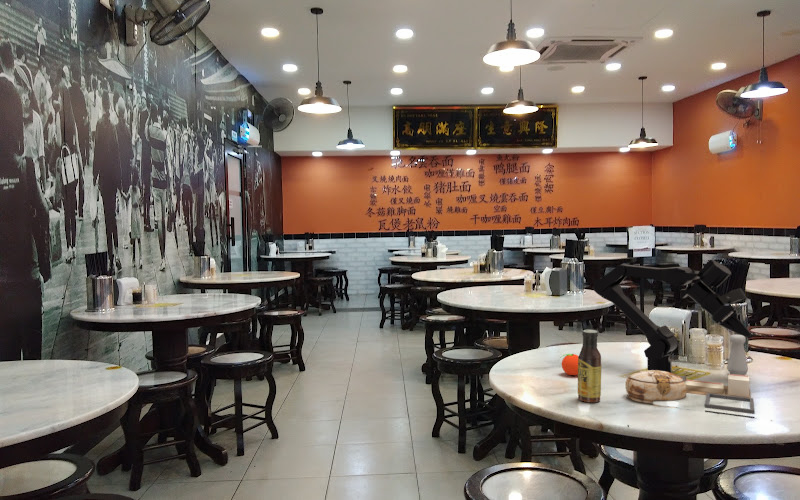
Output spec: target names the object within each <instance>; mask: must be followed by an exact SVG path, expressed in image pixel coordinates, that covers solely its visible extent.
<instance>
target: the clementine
mask: <svg viewBox="0 0 800 500" xmlns="http://www.w3.org/2000/svg"><path fill="white" fill-rule="evenodd" d="M562 357H563V359H562V361H561V368H562V370H563V372H564V373H565V374H567V375H569V376H571V375H575V376H578V357H579V355H578V354H576V353H575V354H574V353H567V354H563V355H561V356H560V358H559V360H558V361H560V359H561V358H562Z"/></svg>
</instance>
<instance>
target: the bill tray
mask: <svg viewBox="0 0 800 500" xmlns="http://www.w3.org/2000/svg"><path fill="white" fill-rule="evenodd" d="M711 398H715V399H723V400H732V401H739V402H748V403H749V407H750V408H746V407H739V406H738V407H736V406H728V405H720V404H713V403H710V399H711ZM704 408H707V409H713V410H720V411H721V410H722V411H730V412H735V413H736V412H737V413H746V414H752V415H753V414H755V402H754V398H753V397H751V398H746V397H737V396H729V395H720V394H712V393H707V394H706V395H705V401H704ZM713 410H706V409H705V410H704V412H705V413H712V414H719V415H725V416H726V415H727V416H734V417H741V418H742V417H743V418H748V419H749V418H750V419H755V416H750V415H741V414H737V413H736V414H735V413H734V414H733V413H728V412H720V411H713Z"/></svg>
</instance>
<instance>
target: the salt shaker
mask: <svg viewBox="0 0 800 500" xmlns="http://www.w3.org/2000/svg"><path fill="white" fill-rule="evenodd" d="M729 341H730V343H731V347H730V352H729V357H728V361H727V365H726V369H727V371H728V374H737V375H747V373H748V371H749V366H748V360H747V355H746V351H745V346H744V345H745V343H746V337H745V336H743V335H741V334H731V335H730V336H729Z"/></svg>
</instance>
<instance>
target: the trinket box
mask: <svg viewBox="0 0 800 500" xmlns="http://www.w3.org/2000/svg"><path fill="white" fill-rule="evenodd" d="M680 376H681V375H678V374H676V373H673V372H671V373H670V372H666V371H659V370H641V371H637V372H635V373H633V374H631V375H630V376H628V377H627V378H626V380H625V392H626V394H627V395H628V398H629V399H631V400H633V401H636V402H640V403H645V404H653V403H654V401H674V400H675V401H676V400H682V399H684V398H685V397H686V396H687V394H688V393H687V387H686V384H685V382H684V381H683V379H682V378H681V377H680Z"/></svg>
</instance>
